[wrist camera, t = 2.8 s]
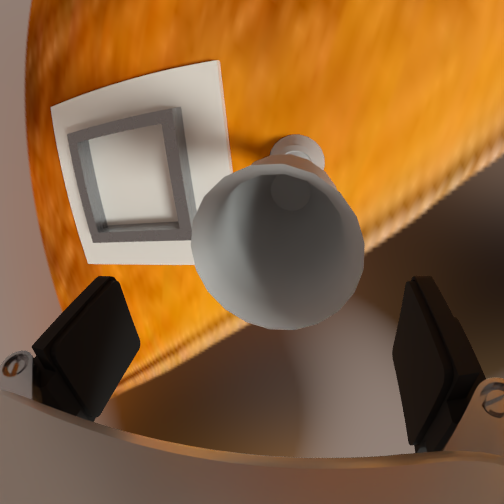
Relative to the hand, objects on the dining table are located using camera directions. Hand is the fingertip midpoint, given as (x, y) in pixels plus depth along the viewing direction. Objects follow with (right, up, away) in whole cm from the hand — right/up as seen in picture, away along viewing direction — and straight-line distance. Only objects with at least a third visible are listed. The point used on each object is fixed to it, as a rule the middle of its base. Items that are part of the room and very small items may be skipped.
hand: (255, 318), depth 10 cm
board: (-12, +10, +21) cm, 26 cm away
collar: (-12, +10, +21) cm, 26 cm away
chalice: (+4, +10, +18) cm, 21 cm away
